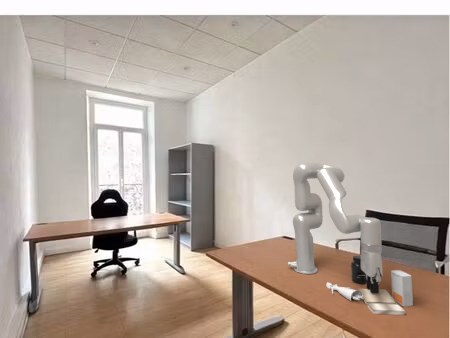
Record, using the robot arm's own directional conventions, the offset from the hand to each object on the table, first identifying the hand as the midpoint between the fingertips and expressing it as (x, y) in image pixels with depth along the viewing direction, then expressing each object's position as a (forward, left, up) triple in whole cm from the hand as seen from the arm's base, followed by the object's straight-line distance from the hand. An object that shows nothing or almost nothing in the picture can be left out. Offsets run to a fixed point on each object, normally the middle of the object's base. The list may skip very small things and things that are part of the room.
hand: (372, 290), depth 103 cm
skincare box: (+10, -3, -3) cm, 11 cm away
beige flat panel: (0, -2, -2) cm, 3 cm away
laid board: (0, -10, -3) cm, 10 cm away
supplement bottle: (+1, +16, -3) cm, 17 cm away
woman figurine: (-11, +3, -4) cm, 12 cm away
